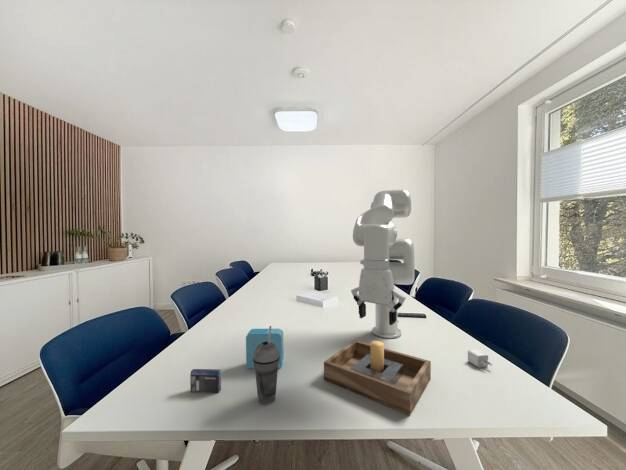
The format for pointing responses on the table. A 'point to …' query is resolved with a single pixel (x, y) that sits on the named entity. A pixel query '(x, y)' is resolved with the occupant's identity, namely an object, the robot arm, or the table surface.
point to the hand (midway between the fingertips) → (377, 320)
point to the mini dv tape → (205, 380)
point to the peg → (377, 356)
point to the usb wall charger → (478, 358)
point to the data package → (257, 338)
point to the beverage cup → (266, 370)
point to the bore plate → (390, 374)
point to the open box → (393, 396)
